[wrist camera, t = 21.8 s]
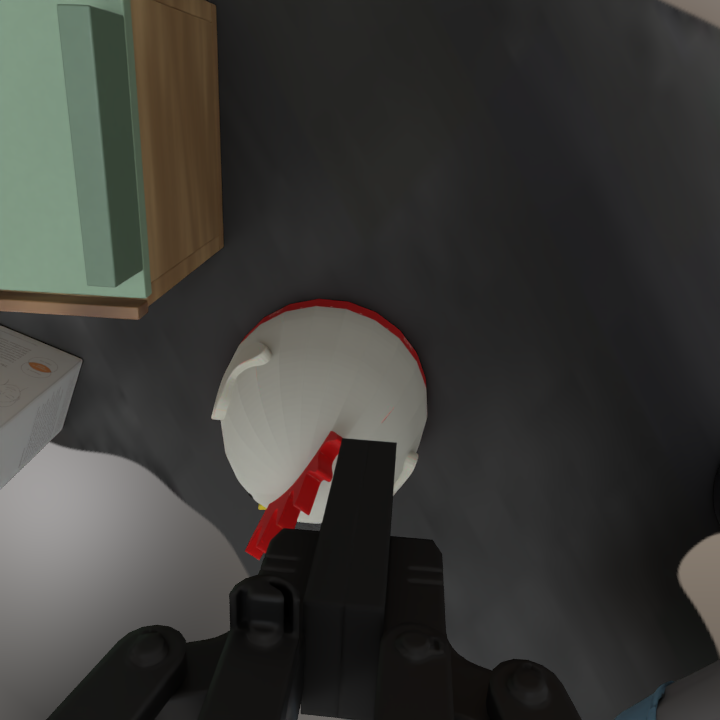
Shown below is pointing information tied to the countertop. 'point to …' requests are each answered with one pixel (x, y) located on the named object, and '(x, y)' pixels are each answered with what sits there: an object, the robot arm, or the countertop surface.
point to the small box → (31, 397)
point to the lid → (71, 150)
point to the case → (165, 156)
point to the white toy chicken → (315, 406)
